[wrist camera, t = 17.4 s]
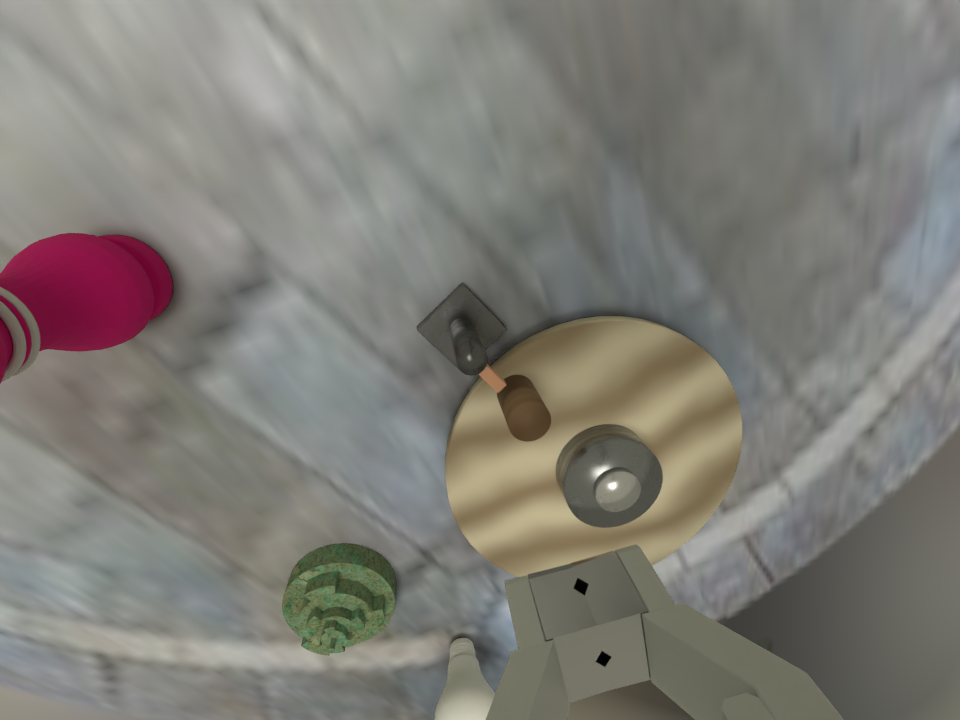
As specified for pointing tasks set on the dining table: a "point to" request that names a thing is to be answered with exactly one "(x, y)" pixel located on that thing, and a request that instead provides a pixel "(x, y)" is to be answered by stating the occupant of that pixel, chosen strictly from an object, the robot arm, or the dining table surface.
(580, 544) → the turntable
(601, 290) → the dining table surface
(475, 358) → the pointer
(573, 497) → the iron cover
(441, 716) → the lightbulb
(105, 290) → the pepper mill
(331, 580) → the decorative artifact
